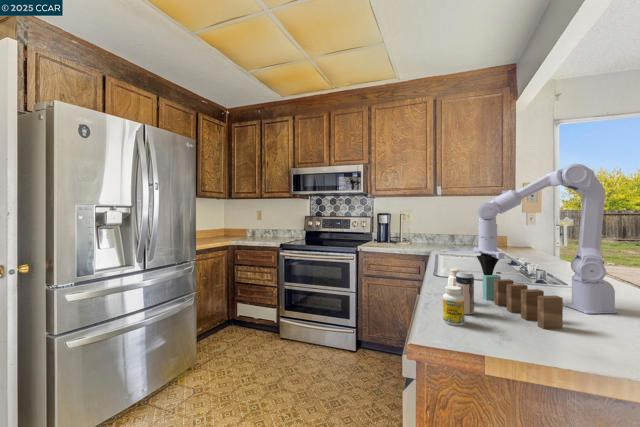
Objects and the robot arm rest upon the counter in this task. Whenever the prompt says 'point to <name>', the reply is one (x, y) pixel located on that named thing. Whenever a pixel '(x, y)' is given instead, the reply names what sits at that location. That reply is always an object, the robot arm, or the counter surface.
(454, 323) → the supplement bottle
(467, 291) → the beer can
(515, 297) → the walnut domino
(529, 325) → the counter surface
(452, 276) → the pepper shaker
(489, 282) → the teal domino
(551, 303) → the walnut domino
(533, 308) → the walnut domino
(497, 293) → the walnut domino
